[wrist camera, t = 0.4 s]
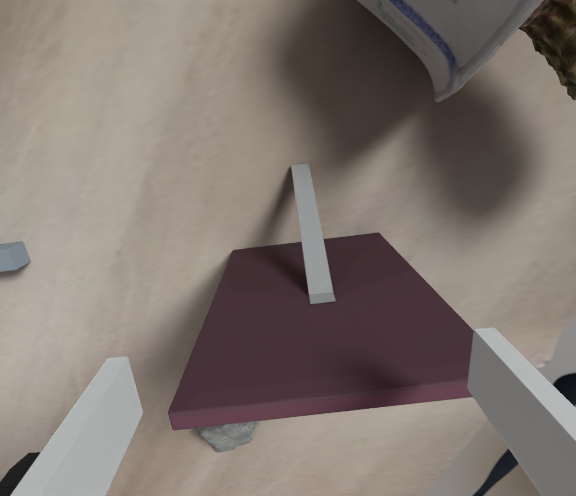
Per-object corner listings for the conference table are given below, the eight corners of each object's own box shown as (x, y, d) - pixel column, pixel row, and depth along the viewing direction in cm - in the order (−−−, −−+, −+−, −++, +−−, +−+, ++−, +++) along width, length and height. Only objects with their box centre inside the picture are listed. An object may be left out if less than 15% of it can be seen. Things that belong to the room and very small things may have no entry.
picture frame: (234, 259, 42) (176, 444, 18) (218, 173, 38) (122, 264, 15) (379, 242, 41) (512, 407, 18) (376, 154, 38) (535, 215, 14)
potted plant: (299, -60, 20) (779, 248, 19) (526, -478, 16) (1157, -112, 15) (320, 53, 37) (572, 217, 36) (432, -132, 33) (720, 47, 32)
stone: (290, 408, 50) (291, 432, 46) (221, 452, 52) (217, 478, 48) (261, 377, 48) (260, 400, 44) (191, 424, 50) (184, 449, 46)
